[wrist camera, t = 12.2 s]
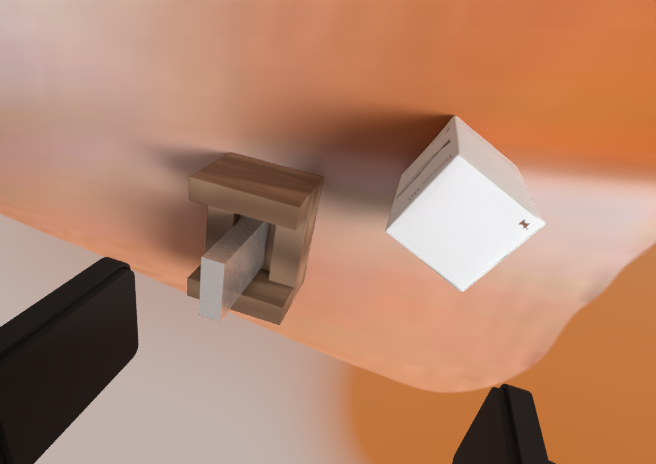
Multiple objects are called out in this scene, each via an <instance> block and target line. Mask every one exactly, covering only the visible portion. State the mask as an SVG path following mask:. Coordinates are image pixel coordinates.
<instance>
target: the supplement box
mask: <svg viewBox="0 0 656 464" xmlns="http://www.w3.org/2000/svg"><path fill="white" fill-rule="evenodd" d="M545 224H546V222H545V220H544V218H543V216H542V214H541V212H540V211H539V209H538V207H537V205H536V203H535V201H534V199H533V197H532V195H531V193H530V191H529V190H528V188H527V186H526V184H525V182H524V180H523V178H522V176H521V174H520V172H519V170H518V168H517V167H516V165H515V164H513V163H512V162H511V161H510V160H509V159H507V158H506V157H505V156H504V155H503V154H502V153H500V152H499V151H498V150H497V149H496V148H494V147H493V146H492V145H491V144H490V143H489V142H487V141H486V140H485V139H484V138H483V137H481V136H480V135H479V134H478V133H477V132H475V131H474V130H473V129H472V128H471V127H469V126H468V125H467V124H466V123H465V122H463V121H462V120H461V119H460V118H458V117H457V116H453V117H452V118H451V120H450V121H449V122H448V123H447V125H446V126H445V127H444V128H443V130H442V131H441V132H440V133H439V134H438V135H437V137H436V138H435V139H434V140H433V141H432V142H431V143H430V145H429V146H428V147H427V148H426V149H425V150H424V151H423V152H422V153H421V154H420V156H419V157H418V158H417V159H416V160H415V161H414V162H413V163H412V164H411V165H410V166H409V167H408V168H407V169H406V170H405V171H404V173H403V174H402V175H401V178H400V181H399V185H398V188H397V191H396V195H395V198H394V202H393V205H392V209H391V213H390V216H389V220H388V223H387V227H386V230H385V231H386V233H388V234H389V235H390V236H392V237H393V238H394V239H395V240H397V241H398V242H399V243H401V244H402V245H403V246H404V247H406V248H407V249H408V250H410V251H411V252H412V253H413V254H415V255H416V256H417V257H418V258H420V259H421V260H422V261H423V262H425V263H426V264H427V265H428V266H429V267H431V268H432V269H433V270H434V271H436V272H437V273H438V274H439V275H440V276H442V277H443V278H444V279H445V280H446V281H448V282H449V283H450V284H451V285H453V286H454V287H455V288H456V289H457V290H458V291H460V292H463V291H465V290H466V289H467V288H469V287H470V286H471V285H472V284H474V283H475V282H476V281H477V280H478V279H479V278H481V277H482V276H483V275H484V274H486V273H487V272H488V271H489V270H490V269H492V268H493V267H494V266H495V265H497V264H498V263H499V262H501V261H502V260H503V259H504V258H506V257H507V256H508V255H509V254H510V253H511V252H512V251H514V250H515V249H516V248H517V247H519V246H520V245H521V244H522V243H523V242H525V241H526V240H527V239H528V238H530V237H531V236H532V235H533V234H535V233H536V232H537V231H538V230H539V229H541V228H542V227H544V226H545Z"/></svg>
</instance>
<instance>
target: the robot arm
mask: <svg viewBox="0 0 656 464" xmlns="http://www.w3.org/2000/svg"><path fill="white" fill-rule="evenodd" d="M137 349H138V328H137V310H136V292H135V275H134V272H133V271H131V269H130V266H129V264H127V263H125V262H122V261H118V260H115V259H112V258H109V257H104V258H102V259H100V260H99V261H97V262H96V263H94V264H93V265H91V266H90V267H88V268H87V269H85V270H84V271H82V272H81V273H79V274H78V275H76V276H75V277H74V278H72V279H71V280H69V281H68V282H66V283H65V284H63V285H62V286H60V287H59V288H58V289H56V290H54V291H53V292H52V293H50V294H48V295H47V296H45V297H44V298H43V299H41V300H40V301H38V302H37V303H35V304H34V305H32V306H31V307H29V308H28V309H26V310H25V311H23V312H22V313H20V314H19V315H18V316H16V317H14V318H13V319H12V320H10V321H9V322H7V323H6V324H4V325H3V326H1V327H0V464H34V463H35V462H36V461H37V460H38V458H40V457H41V455H42V454H43V453H44V452H45V451H46V450H47V449H48V448H49V447H50V446H51V445H52V444H53V443H54V441H55V440H56V439H57V438H58V437H59V436H60V435H61V434H62V433H63V432H64V431H65V430H66V429H67V428H68V427H69V426H70V424H71V423H72V422H73V421H74V420H75V419H76V418H77V417H78V416H79V415H80V414H81V413H82V412H83V411H84V409H85V408H86V407H87V406H88V405H89V404H90V403H91V402H92V401H93V400H94V399H95V398H96V397H97V395H99V393H100V392H101V391H102V390H103V389H104V388H105V387H106V386H107V385H108V384H109V383H110V382H111V381H112V380H113V378H114V377H115V376H116V375H117V374H118V373H119V372H120V371H121V370H122V369H123V368H124V367H125V366H126V364H128V362H129V361H130V360H131V359H132V358H133V357H134V355H135V354H136V352H137ZM452 464H555V463H553V462H551V461H549V460H548V457H547V453H546V449H545V445H544V441H543V437H542V433H541V428H540V425H539V420H538V417H537V413H536V408H535V405H534V400H533V397H532V394H531V393H530V392H529V391H526V390H523V389H520V388H517V387H514V386H511V385H508V384H503V385H501V386H500V388H496V387H493V388H492V389H491V390H490V392H489V394H488V396H487V397H486V399H485V401H484V403H483V405H482V406H481V408H480V410H479V412H478V414H477V415H476V417H475V419H474V421H473V423H472V424H471V426H470V428H469V430H468V432H467V433H466V435H465V437H464V439H463V441H462V442H461V444H460V446H459V448H458V450H457V451H456V453H455V455H454V458H453V463H452Z"/></svg>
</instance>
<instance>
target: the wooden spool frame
mask: <svg viewBox="0 0 656 464" xmlns="http://www.w3.org/2000/svg"><path fill="white" fill-rule="evenodd" d="M322 182H323V177H321V176H317V175H313V174H310V173H306V172H302V171H299V170H295V169H291V168H287V167H284V166H280V165H276V164H272V163H269V162H265V161H261V160H258V159H254V158H250V157H246V156H243V155H239V154H235V153H229V154H228V155H226V156H224V157H223V158H221V159H219V160H217V161H216V162H214V163H212V164H211V165H209V166H207V167H206V168H204V169H202V170H200V171H199V172H197V173H195V174H194V175H192V176H190V178H189V200H191V201H195V202H198V203H202V204H205V205H208V212H207V234H206V252H207V251H208V250H209V249H210V248H211V247H212V246H213V245H214V244H215V243H216V242H218V241H219V240H220V239H221V238H222V237H223V236H224V235H225V234H226V233H227V232H228V231H229V230H230V229H231V228H232V227H233V226H234V225H235V224H236V223H238V222H239V221H240V220H241V219H242V218H243V217H244V216H247V217H250V218H254V219H257V220H261V221H264V222H268V223H270V225H269V233H268V241H267V248H266V256H265V263H264V265H263V266H262V267H261V269H260V270H259V271H258V273H257V274H256V275H255V277H254V278H253V279H252V281H251V282H250V283H249V285H248V286H247V287H246V288H245V290H244V291H243V292H242V294H241V295H240V296H239V298H238V299H237V300H236V302H235V303H234V304H233V306H232V307H231V308H230V309H231V310H234V311H237V312H240V313H244V314H247V315H250V316H253V317H256V318H259V319H262V320H265V321H268V322H271V323H275V324H278V325H280V324H281V322H282V320H283V318H284V316H285V315H286V313H287V311H288V309H289V307H290V305H291V304H292V302H293V300H294V298H295V296H296V294H297V293H298V291H299V289H300V287H301V285H302V283H303V281H304V277H305V271H306V266H307V261H308V256H309V250H310V245H311V240H312V235H313V229H314V224H315V219H316V213H317V208H318V203H319V198H320V192H321V187H322ZM200 277H201V265H200V266H199V267H198V268H197V269H196V270H195V271H194V272H193V273H192V274H191V275H190V276H189V277H188V279H187V295H188V296H191V297H194V298H197V299H200Z"/></svg>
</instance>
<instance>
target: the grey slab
mask: <svg viewBox="0 0 656 464" xmlns="http://www.w3.org/2000/svg"><path fill="white" fill-rule="evenodd" d="M269 225H270V223H268V222H264V221H261V220H257V219H254V218H250V217H247V216H244V217H243V218H242V219H241V220H240V221H239V222H238V223H236V224H235V225H234V226H233V227H232V228H231V229H230V230H229V231H228V232H227V233H226V234H225V235H224V236H223V237H222V238H221V239H220V240H219V241H218V242H216V243H215V244H214V245H213V246H212V247H211V248H210V249H209V250H208V251H207V252H206V253H205V254H204V255H203V256H202V257H201V277H200V302H199V315H201V316H204V317H207V318H210V319H213V320H216V321H219V322H221V320H222V319H223V318H224V316H225V315H226V314H227V312H228V311H229V310H230V308H231V307H232V306H233V304H234V303H235V302H236V300H237V299H238V298H239V296H240V295H241V294H242V292H243V291H244V290H245V288H246V287H247V286H248V285H249V283H250V282H251V281H252V279H253V278H254V277H255V275H256V274H257V273H258V271H259V270H260V269H261V267H262V266H263V265H264V263H265V256H266V248H267V241H268V233H269Z"/></svg>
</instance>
